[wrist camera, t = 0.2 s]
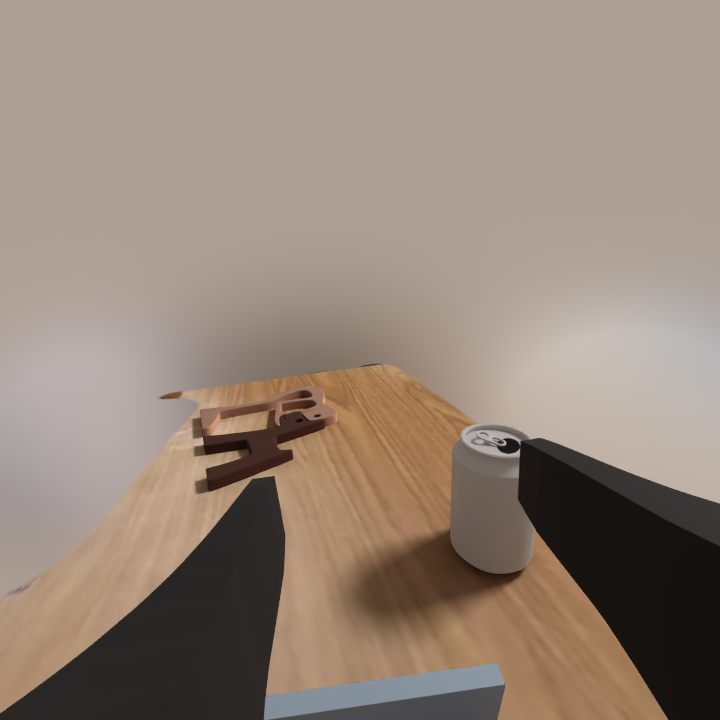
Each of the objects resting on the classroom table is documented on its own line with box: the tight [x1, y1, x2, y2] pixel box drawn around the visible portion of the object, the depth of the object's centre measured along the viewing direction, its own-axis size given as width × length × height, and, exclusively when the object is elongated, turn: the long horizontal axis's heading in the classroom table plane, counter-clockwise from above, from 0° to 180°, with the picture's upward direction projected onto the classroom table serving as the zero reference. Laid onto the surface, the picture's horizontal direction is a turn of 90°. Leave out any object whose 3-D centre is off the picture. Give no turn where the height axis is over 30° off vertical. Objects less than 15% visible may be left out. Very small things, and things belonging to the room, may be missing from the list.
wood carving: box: [200, 386, 337, 491], centre depth 63 cm, size 28×2×24 cm
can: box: [450, 423, 536, 574], centre depth 33 cm, size 8×8×12 cm
